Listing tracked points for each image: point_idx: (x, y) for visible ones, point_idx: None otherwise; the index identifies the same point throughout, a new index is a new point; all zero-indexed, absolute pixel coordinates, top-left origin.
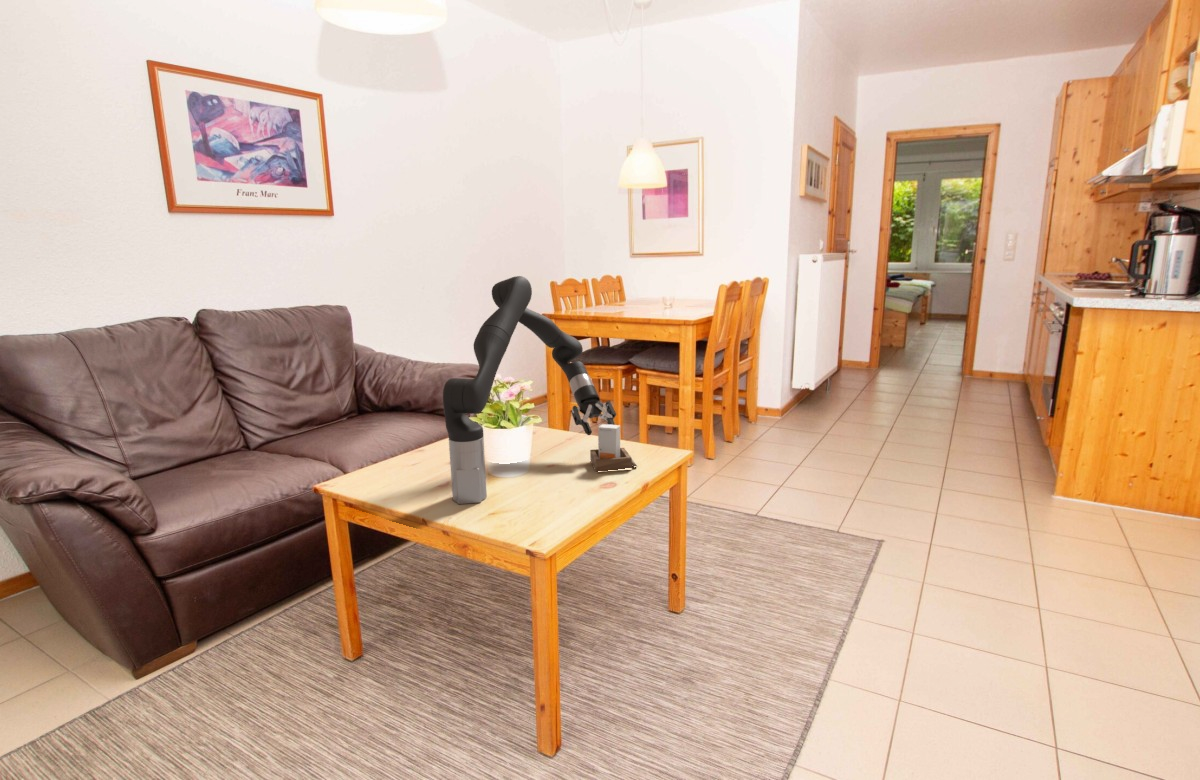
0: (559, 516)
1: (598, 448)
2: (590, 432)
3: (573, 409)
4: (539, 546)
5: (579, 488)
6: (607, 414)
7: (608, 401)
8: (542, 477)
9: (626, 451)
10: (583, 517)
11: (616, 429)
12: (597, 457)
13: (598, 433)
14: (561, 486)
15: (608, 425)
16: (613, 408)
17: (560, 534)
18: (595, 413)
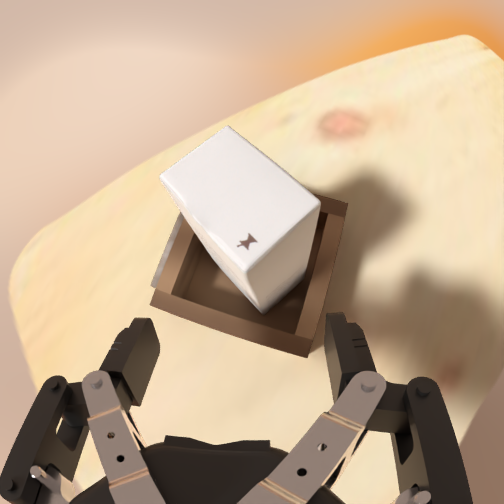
0: (463, 72)
1: (308, 258)
2: (337, 314)
3: (464, 500)
4: (478, 40)
5: (421, 143)
6: (106, 403)
7: (6, 488)
8: (495, 272)
9: (172, 248)
10: (427, 51)
11: (223, 131)
12: (328, 233)
13: (316, 223)
14: (460, 178)
15: (230, 202)
16: (23, 424)
17: (458, 42)
18: (215, 450)
